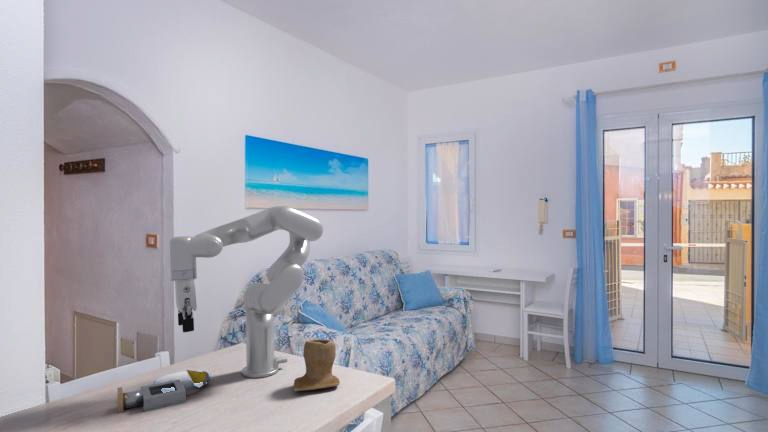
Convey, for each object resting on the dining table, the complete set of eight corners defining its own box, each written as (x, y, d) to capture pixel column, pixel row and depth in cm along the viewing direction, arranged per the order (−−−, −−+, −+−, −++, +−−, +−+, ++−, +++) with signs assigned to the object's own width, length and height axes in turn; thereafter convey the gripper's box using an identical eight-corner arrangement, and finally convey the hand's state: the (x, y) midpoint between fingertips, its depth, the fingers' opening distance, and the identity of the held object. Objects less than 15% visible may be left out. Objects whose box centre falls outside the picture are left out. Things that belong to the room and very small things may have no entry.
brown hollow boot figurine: (334, 376, 150) (334, 333, 150) (342, 390, 139) (342, 343, 139) (290, 382, 145) (289, 337, 145) (294, 396, 134) (293, 348, 134)
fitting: (180, 390, 140) (179, 372, 140) (185, 402, 130) (185, 383, 130) (117, 403, 130) (117, 384, 130) (118, 417, 121) (118, 397, 121)
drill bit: (213, 388, 142) (191, 374, 136) (199, 394, 143) (177, 380, 137) (216, 374, 146) (195, 359, 140) (203, 379, 147) (181, 365, 141)
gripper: (201, 277, 134) (203, 332, 134) (192, 270, 149) (194, 320, 149) (174, 279, 130) (176, 336, 130) (167, 273, 145) (169, 324, 145)
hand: (186, 328), depth 140 cm, fingers open, 9 cm apart
